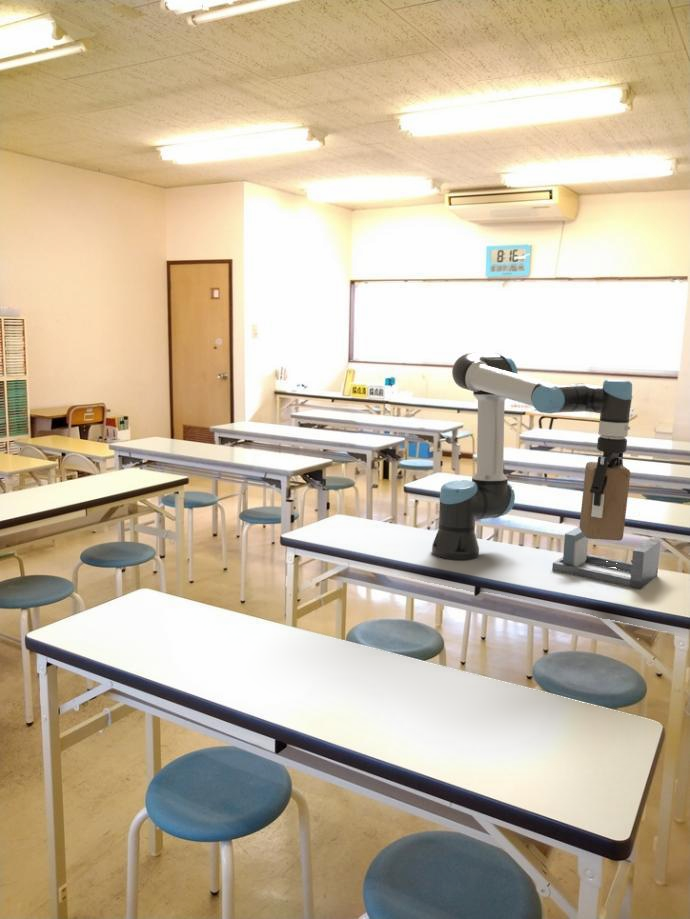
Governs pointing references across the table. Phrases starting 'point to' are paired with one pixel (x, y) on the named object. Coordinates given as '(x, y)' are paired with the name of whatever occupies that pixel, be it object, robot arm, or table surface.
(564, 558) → the block
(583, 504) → the wooden block
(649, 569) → the vise bed
